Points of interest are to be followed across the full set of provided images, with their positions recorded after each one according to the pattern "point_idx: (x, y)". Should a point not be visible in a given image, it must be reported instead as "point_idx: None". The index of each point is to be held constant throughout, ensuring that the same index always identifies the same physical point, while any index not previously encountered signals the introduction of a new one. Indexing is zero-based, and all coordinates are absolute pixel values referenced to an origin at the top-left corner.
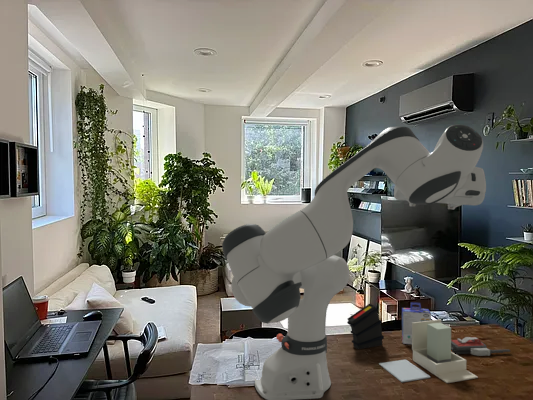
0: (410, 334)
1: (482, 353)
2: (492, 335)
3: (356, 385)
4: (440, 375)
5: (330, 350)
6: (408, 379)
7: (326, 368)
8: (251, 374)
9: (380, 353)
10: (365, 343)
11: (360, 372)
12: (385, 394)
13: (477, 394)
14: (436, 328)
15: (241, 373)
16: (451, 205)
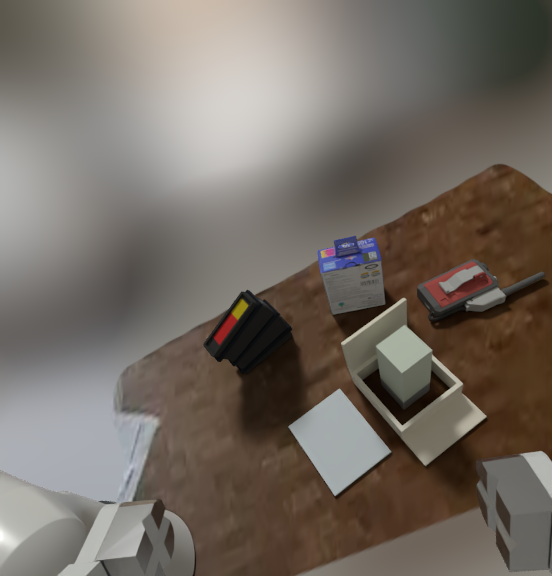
0: (343, 300)
1: (489, 306)
2: (502, 208)
3: (245, 544)
4: (411, 439)
5: (194, 397)
6: (347, 483)
7: (169, 568)
8: None
9: (290, 374)
10: (257, 360)
11: (252, 478)
12: (304, 567)
13: None
14: (398, 368)
15: None
16: (533, 560)
